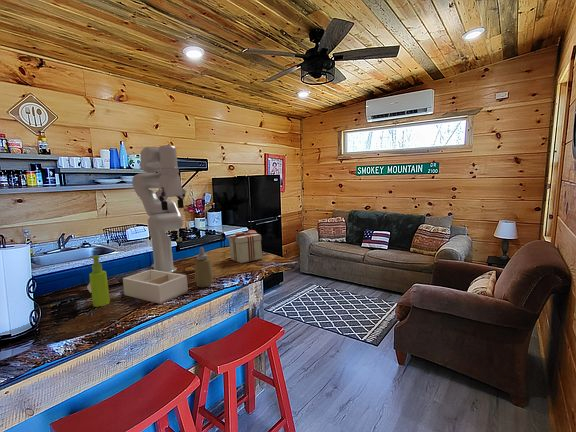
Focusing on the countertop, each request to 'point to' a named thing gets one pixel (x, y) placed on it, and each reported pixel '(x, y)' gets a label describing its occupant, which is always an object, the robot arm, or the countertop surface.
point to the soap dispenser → (99, 284)
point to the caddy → (155, 286)
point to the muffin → (89, 287)
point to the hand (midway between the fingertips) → (173, 209)
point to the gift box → (245, 246)
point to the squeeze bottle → (203, 270)
